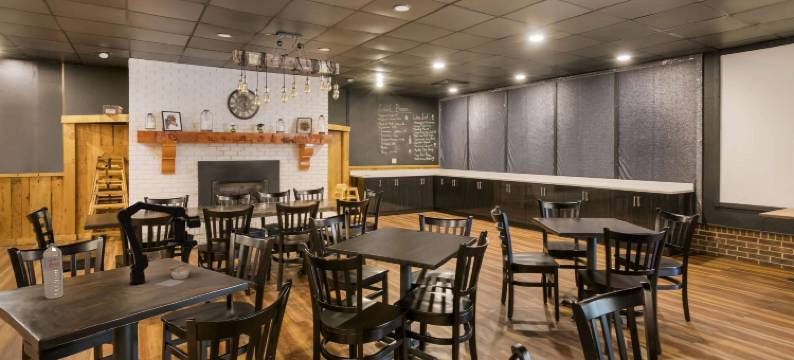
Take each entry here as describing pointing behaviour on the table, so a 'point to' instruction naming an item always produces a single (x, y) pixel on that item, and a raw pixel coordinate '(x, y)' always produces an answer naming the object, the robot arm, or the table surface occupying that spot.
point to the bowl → (180, 274)
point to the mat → (169, 282)
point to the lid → (179, 267)
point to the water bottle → (53, 272)
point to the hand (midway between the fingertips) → (180, 258)
